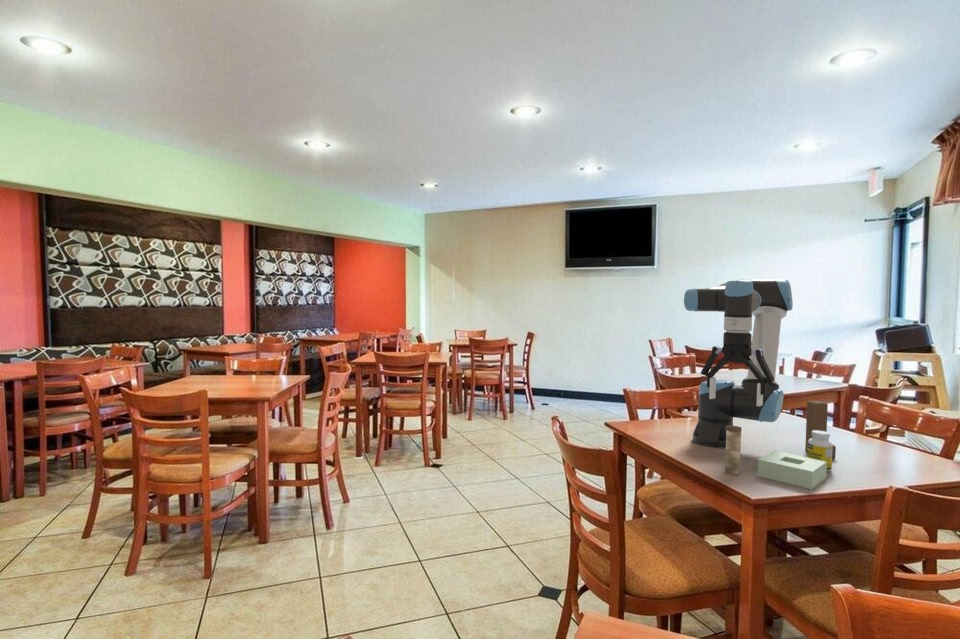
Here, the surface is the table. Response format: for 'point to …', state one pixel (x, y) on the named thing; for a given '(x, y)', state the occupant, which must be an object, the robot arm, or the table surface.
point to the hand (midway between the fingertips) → (735, 402)
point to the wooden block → (816, 420)
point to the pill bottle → (820, 447)
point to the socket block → (792, 469)
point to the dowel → (733, 450)
